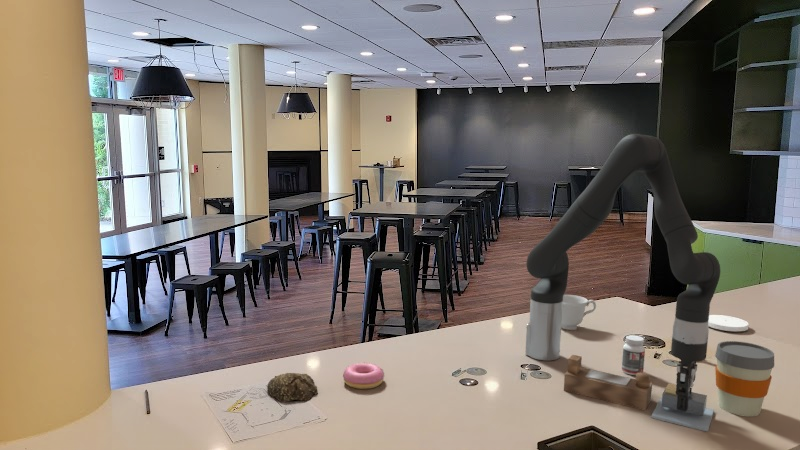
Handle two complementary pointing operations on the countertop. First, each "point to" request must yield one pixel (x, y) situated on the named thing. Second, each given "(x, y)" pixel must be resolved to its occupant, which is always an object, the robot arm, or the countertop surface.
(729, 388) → the reusable coffee cup
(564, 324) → the teacup
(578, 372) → the plane body
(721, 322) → the plastic lid
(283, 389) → the mossy brown rock
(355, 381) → the doughnut
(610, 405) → the countertop surface
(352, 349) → the countertop surface
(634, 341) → the pill bottle
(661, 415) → the rubber mat
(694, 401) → the lever cap
